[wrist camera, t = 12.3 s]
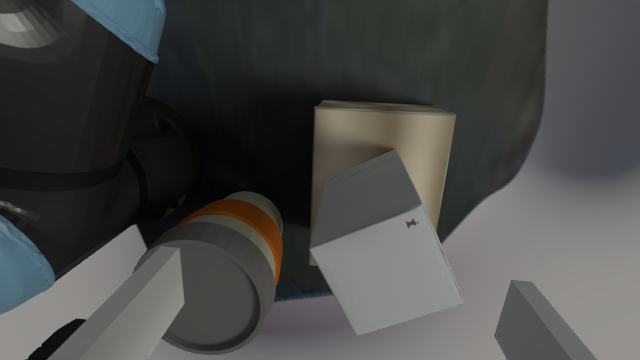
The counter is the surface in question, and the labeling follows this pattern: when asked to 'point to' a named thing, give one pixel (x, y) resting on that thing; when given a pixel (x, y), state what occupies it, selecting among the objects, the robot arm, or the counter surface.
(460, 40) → the counter surface
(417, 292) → the supplement box
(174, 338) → the reusable coffee cup
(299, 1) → the counter surface
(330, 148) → the maple box
